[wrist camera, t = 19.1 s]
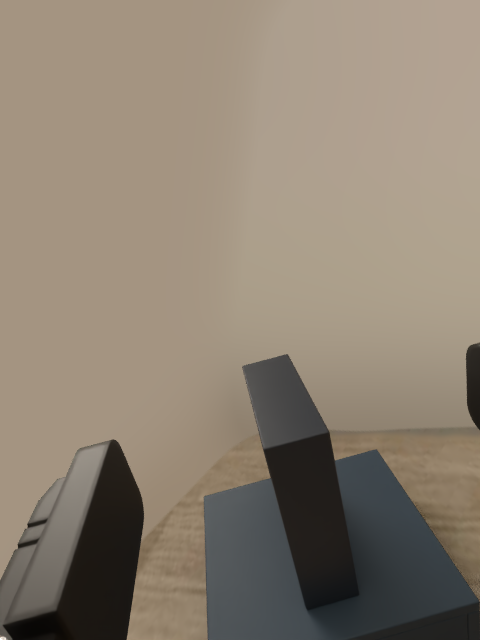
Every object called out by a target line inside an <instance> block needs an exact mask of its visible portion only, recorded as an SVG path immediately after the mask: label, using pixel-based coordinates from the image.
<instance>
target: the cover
mask: <svg viewBox="0 0 480 640" xmlns="http://www.w3.org/2000/svg"><path fill="white" fill-rule="evenodd" d="M242 368H243V372H244V375H245V380H246V384H247V388H248V391H249V395H250V399H251V403H252V407H253V411H254V415H255V419H256V423H257V427H258V431H259V435H260V439H261V443H262V447H263V451H264V454H265V458H266V462H267V465H268V469H269V473H270V477H271V478H270V479H266V480H262V481H259V482H255V483H251V484H248V485H244V486H240V487H237V488H233V489H229V490H226V491H222V492H218V493H215V494H211V495H207V496H204V520H205V555H206V591H207V626H208V640H480V610H479V609H480V602H479V600H478V599H477V597H476V596H475V594H474V593H473V591H472V590H471V588H470V587H469V585H468V584H467V582H466V581H465V579H464V578H463V576H462V575H461V573H460V572H459V571H458V569H457V568H456V566H455V565H454V563H453V562H452V560H451V559H450V557H449V556H448V554H447V553H446V551H445V550H444V548H443V547H442V545H441V544H440V542H439V541H438V539H437V538H436V537H435V535H434V534H433V532H432V531H431V529H430V528H429V526H428V525H427V523H426V522H425V520H424V519H423V517H422V516H421V514H420V513H419V511H418V510H417V508H416V507H415V505H414V504H413V502H412V501H411V500H410V498H409V497H408V495H407V494H406V492H405V491H404V489H403V488H402V486H401V485H400V483H399V482H398V480H397V479H396V477H395V476H394V474H393V473H392V471H391V470H390V468H389V467H388V466H387V464H386V463H385V461H384V460H383V458H382V457H381V455H380V454H379V452H378V451H377V450H372V451H368V452H365V453H361V454H357V455H354V456H350V457H346V458H343V459H339V460H334V454H333V449H332V444H331V438H330V433H329V431H328V429H327V427H326V425H325V423H324V421H323V419H322V417H321V416H320V414H319V412H318V410H317V408H316V406H315V404H314V403H313V401H312V399H311V397H310V395H309V393H308V391H307V389H306V388H305V386H304V384H303V382H302V380H301V378H300V376H299V375H298V373H297V371H296V369H295V367H294V365H293V363H292V361H291V359H290V358H289V356H288V355H287V354H286V355H282V356H278V357H275V358H271V359H267V360H263V361H260V362H256V363H252V364H248V365H245V366H243V367H242Z"/></svg>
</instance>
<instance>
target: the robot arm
mask: <svg viewBox="0 0 480 640" xmlns="http://www.w3.org/2000/svg"><path fill="white" fill-rule="evenodd" d="M466 369H467V371H466V372H467V406H468V410H469V413H470V416H471V417H472V420H473V422H474V423H475V425H476V426H477V427H478V429H479V430H480V343H477V344H473V345H471V346H470V347H469V348H468V350H467V353H466ZM143 522H144V511H143V502H142V497H141V494H140V491H139V488H138V486H137V484H136V482H135V479H134V477H133V475H132V472H131V470H130V468H129V465H128V463H127V460H126V458H125V456H124V453H123V451H122V449H121V447H120V445H119V443H118V442H117V441H116V440H110V441H106V442H102V443H99V444H95V445H91V446H87V447H84V448H80V449H79V450H78V451H77V452H76V454H75V456H74V459H73V461H72V463H71V466H70V468H69V471H68V473H67V475H66V477H63V478H60V479H57V480H56V481H55V483H54V484H53V485H52V486H51V487H50V488H49V489H48V491H47V492H46V493H45V494H44V495H43V496H42V497H41V499H40V500H39V501H38V503H37V505H36V507H35V509H34V511H33V513H32V516H31V518H30V520H29V522H28V524H27V525H28V528H27V529H25V530H24V532H23V534H22V536H21V538H20V540H19V543H18V549H16V550H15V551H14V553H13V555H12V557H11V559H10V561H9V563H8V565H7V567H6V570H5V572H4V574H3V576H2V578H1V580H0V640H127V633H128V626H129V619H130V612H131V605H132V599H133V592H134V585H135V578H136V571H137V564H138V557H139V550H140V543H141V536H142V529H143Z"/></svg>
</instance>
